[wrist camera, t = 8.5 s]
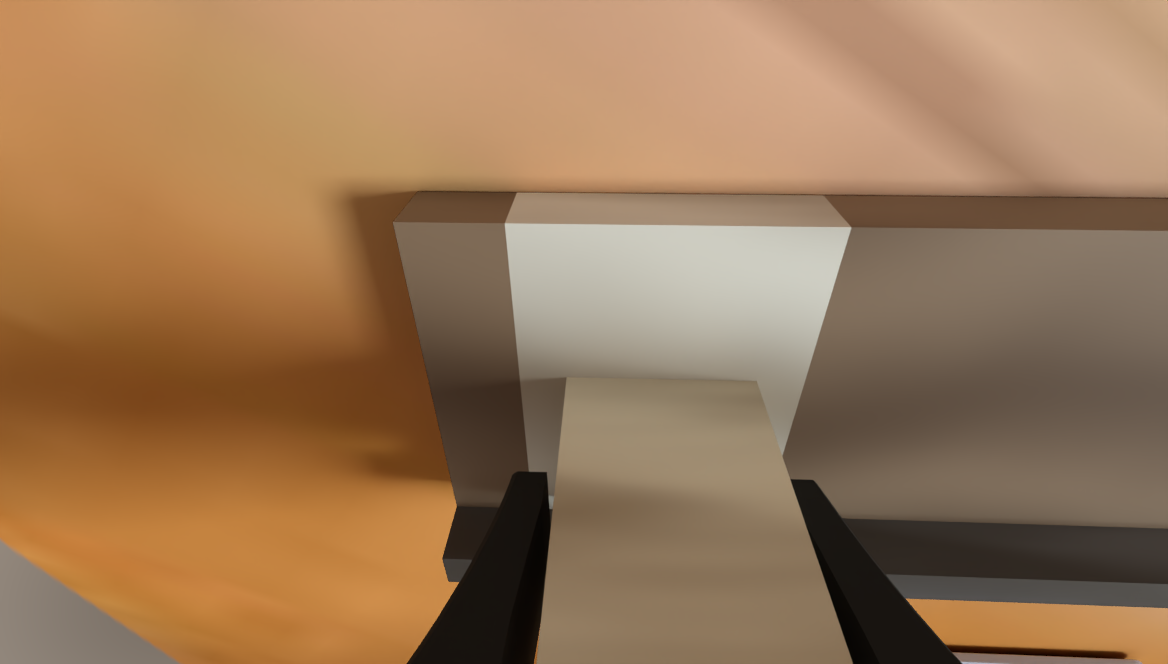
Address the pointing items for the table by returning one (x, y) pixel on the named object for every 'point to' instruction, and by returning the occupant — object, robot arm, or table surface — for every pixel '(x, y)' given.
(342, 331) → the table surface
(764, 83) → the table surface
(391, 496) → the table surface
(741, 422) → the block
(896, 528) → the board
